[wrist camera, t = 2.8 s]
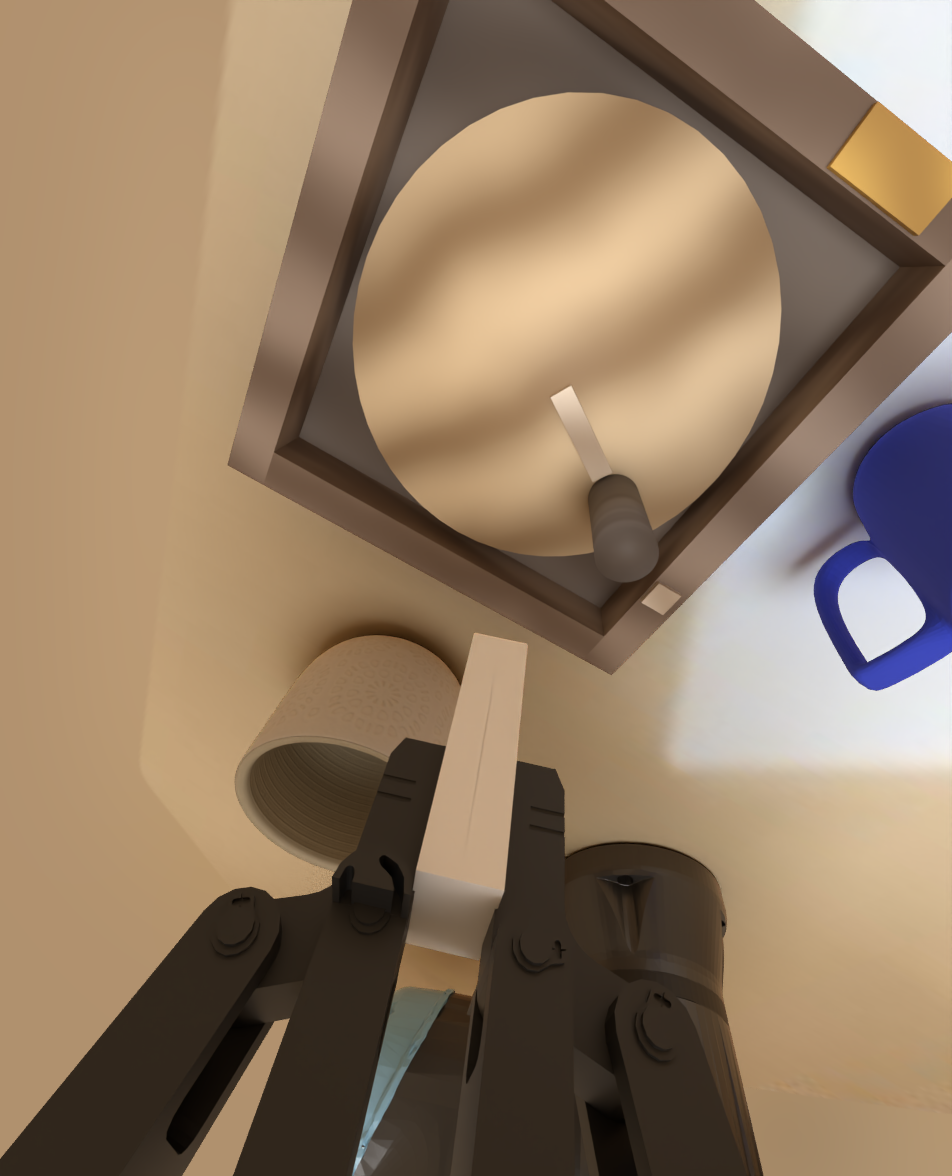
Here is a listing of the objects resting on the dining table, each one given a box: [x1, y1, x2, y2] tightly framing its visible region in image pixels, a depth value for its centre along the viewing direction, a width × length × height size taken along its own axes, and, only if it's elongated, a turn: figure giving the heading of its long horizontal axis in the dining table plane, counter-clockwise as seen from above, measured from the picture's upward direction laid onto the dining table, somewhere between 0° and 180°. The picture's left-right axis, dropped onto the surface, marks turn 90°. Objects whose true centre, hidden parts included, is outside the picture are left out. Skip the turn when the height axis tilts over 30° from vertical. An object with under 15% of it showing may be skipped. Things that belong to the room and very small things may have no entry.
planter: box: [235, 635, 461, 872], centre depth 33 cm, size 12×12×11 cm
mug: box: [814, 404, 952, 691], centre depth 22 cm, size 8×12×10 cm
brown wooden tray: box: [228, 0, 952, 675], centre depth 23 cm, size 24×24×4 cm
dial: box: [353, 92, 781, 582], centre depth 21 cm, size 18×18×8 cm
